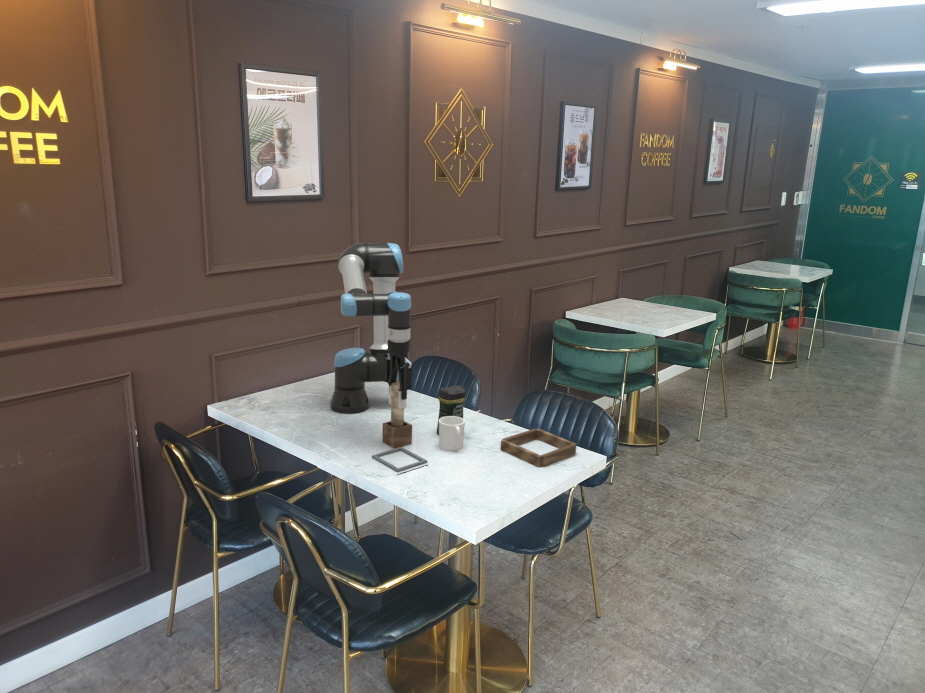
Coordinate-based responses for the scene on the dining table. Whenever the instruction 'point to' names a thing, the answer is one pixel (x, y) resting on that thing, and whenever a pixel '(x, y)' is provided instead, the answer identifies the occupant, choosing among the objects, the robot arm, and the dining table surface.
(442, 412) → the coffee jar
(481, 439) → the dining table surface
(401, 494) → the dining table surface
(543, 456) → the frame
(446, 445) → the mug
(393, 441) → the pen cup
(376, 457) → the tray
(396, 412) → the dowel
